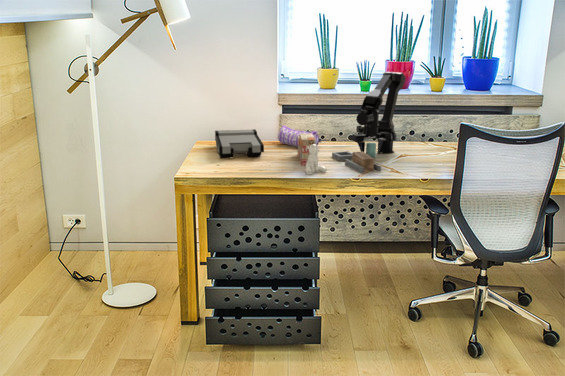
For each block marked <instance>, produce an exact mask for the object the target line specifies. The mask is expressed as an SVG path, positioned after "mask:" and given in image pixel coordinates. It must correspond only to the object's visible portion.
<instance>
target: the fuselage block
mask: <svg viewBox="0 0 565 376" xmlns="http://www.w3.org/2000/svg"><path fill="white" fill-rule="evenodd" d="M352 153H353V155H352V160H351V161H352V162H354V163H356V164H358V165H360V166H362V167H364V173H371V172H372V173H373V172H375V170H374V163H375V159H374V158H372V157H371V156H369V155H368V154H366V151H364V152H363V151H362V152H361V151H352Z"/></svg>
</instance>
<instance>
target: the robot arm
mask: <svg viewBox="0 0 565 376" xmlns="http://www.w3.org/2000/svg"><path fill="white" fill-rule="evenodd" d="M406 79H407V77H406V75H405V74H404V73H403V72H394V71H385V72H383V73H382V77H381V78H380V80H379V81H378V83H377V84H376V86H375V87H374V89H373V90H371V91H369V92H368V93H367V94H366V96H364V98H363V101H362V104H361V107H360V112H359V113H358V114H357V116H356V122H357V124H358V125H357V126H356V133H353V134H352V135H351V136H350V140H351V141H352V142H355V143H357V145H358V147H359V150H360V151H359V152H362V151H363V152H365V151H366V142H365V140H372V139H373V140H374V139H376V140H377V150H378V151H377V154H378V155H380V154H388V153H387V152H392V153H395V150H394V142H395V141H396V139H397V133H396V131H395V125H394V122H393V118H394V114H395V109H396V104H397V100H398V96H399V95H398V94H399V92H400V91H401V90H402V88H404V85H405V82H406ZM387 90H388V92H387ZM386 92H387V95H386V100H385V105H384V109H383V114H382V118H381V119H380V120H379V114H380V113H379V112H381V109H380V108H381V106H382V104H383V102H384V98H383V97H384V95H385V93H386ZM381 152H382V153H381Z"/></svg>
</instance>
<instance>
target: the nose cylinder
mask: <svg viewBox="0 0 565 376" xmlns="http://www.w3.org/2000/svg"><path fill="white" fill-rule="evenodd" d="M376 147H377V143H375V142H365V153H366V154H368V155H369V156H371V157H372V158H374V160H375V159H376V154H377V148H376Z"/></svg>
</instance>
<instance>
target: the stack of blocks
mask: <svg viewBox="0 0 565 376" xmlns="http://www.w3.org/2000/svg"><path fill="white" fill-rule="evenodd" d="M312 144H315V137H314V136H313V134H312V133H310V134H299V136H298V147H297V157H298V159H299V162H300V166H306V163H307V161H308V156H309V155H310V153H309V149H307V147H306V146H309V147H310V145H312Z"/></svg>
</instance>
